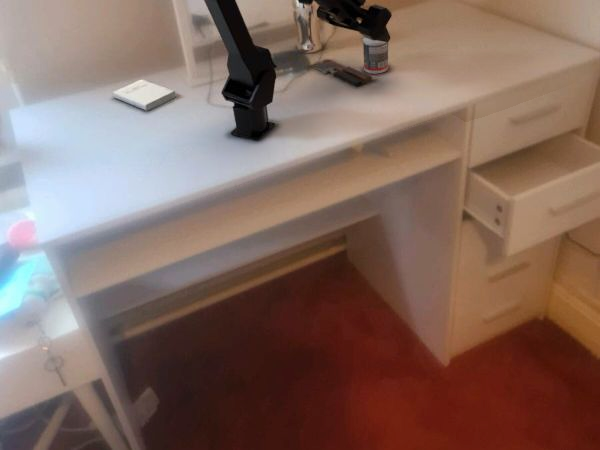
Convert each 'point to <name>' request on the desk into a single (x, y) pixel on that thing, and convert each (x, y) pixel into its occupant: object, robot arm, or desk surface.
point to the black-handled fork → (337, 74)
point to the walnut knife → (349, 71)
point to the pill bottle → (375, 56)
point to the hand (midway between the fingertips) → (374, 34)
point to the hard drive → (144, 94)
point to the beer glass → (307, 26)
